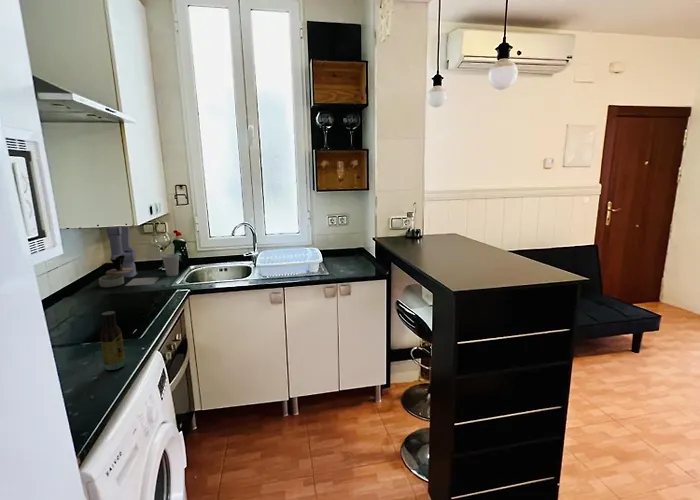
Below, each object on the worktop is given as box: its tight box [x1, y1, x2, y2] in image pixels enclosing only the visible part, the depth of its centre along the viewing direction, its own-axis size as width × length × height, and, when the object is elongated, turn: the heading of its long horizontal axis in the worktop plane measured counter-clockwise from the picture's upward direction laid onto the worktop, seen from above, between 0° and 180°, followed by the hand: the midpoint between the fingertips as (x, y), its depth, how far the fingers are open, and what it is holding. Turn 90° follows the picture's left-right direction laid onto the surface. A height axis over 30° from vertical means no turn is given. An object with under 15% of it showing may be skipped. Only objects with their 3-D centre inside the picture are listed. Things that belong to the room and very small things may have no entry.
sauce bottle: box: [99, 310, 126, 365], centre depth 130 cm, size 6×6×20 cm
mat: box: [124, 276, 160, 287], centre depth 230 cm, size 15×15×1 cm
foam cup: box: [161, 253, 180, 277], centre depth 243 cm, size 10×9×13 cm
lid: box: [105, 264, 133, 276], centre depth 225 cm, size 14×14×4 cm
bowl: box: [98, 274, 125, 288], centre depth 225 cm, size 12×12×4 cm
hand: (119, 268), depth 225 cm, fingers closed on lid, 3 cm apart
